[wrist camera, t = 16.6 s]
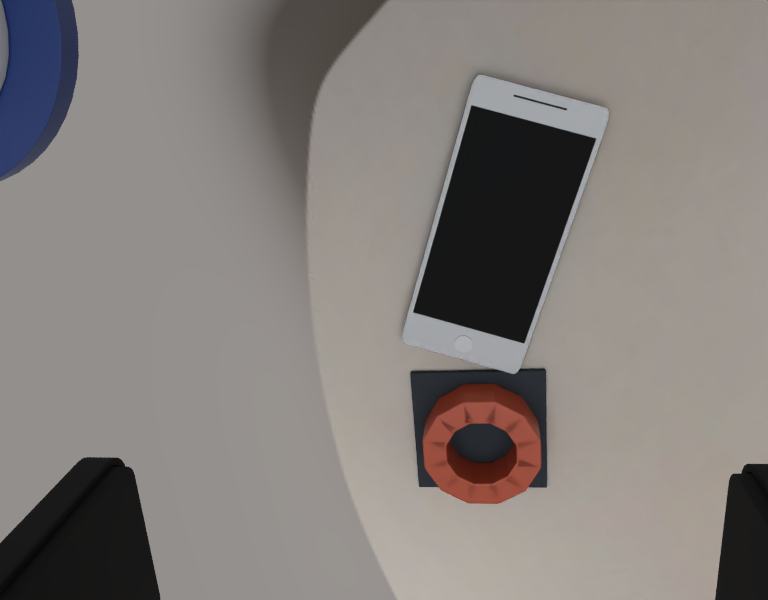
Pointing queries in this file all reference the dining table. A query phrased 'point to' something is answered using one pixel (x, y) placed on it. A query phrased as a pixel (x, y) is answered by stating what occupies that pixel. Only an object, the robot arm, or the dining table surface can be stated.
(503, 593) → the dining table surface
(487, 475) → the ring
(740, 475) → the robot arm
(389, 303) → the dining table surface
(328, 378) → the dining table surface
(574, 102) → the smartphone
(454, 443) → the coaster
